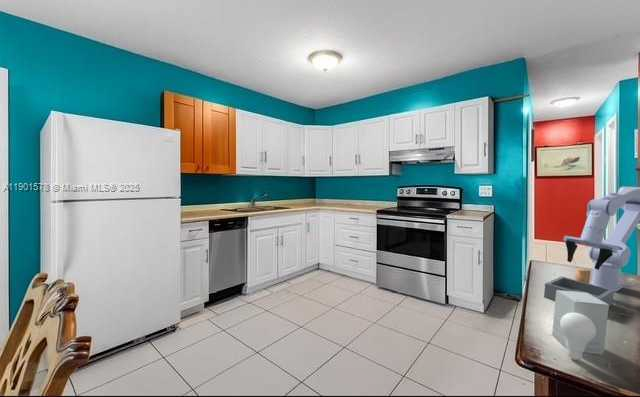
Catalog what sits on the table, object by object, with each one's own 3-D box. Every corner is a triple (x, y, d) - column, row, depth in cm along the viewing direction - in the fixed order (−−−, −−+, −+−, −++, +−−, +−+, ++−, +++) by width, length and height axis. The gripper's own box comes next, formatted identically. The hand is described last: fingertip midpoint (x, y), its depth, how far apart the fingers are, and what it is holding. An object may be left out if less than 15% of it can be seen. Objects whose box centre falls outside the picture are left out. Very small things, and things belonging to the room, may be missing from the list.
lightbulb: (584, 371, 61) (590, 323, 60) (551, 355, 67) (556, 310, 66) (597, 363, 64) (602, 317, 63) (564, 348, 70) (568, 305, 69)
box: (560, 289, 106) (561, 276, 106) (612, 304, 94) (614, 290, 94) (543, 297, 99) (545, 283, 98) (597, 314, 87) (599, 299, 86)
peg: (576, 288, 108) (578, 267, 107) (589, 292, 104) (592, 271, 103) (571, 290, 106) (574, 269, 105) (586, 294, 102) (588, 272, 101)
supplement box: (604, 355, 67) (611, 305, 66) (568, 351, 69) (574, 301, 67) (582, 338, 74) (587, 292, 73) (550, 334, 76) (555, 289, 75)
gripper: (565, 222, 107) (554, 256, 106) (619, 232, 95) (607, 270, 94) (571, 227, 111) (560, 260, 110) (624, 237, 98) (612, 274, 98)
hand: (582, 265), depth 102 cm, fingers open, 7 cm apart
